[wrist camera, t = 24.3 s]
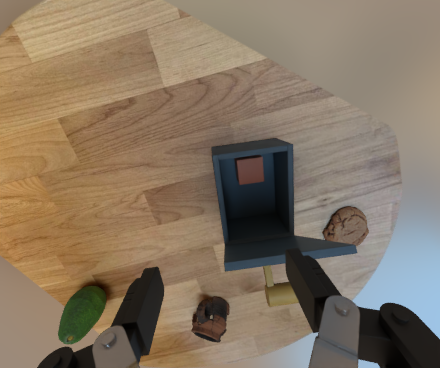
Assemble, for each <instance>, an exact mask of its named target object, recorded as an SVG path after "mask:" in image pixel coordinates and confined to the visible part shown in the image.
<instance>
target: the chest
mask: <svg viewBox="0 0 440 368" xmlns="http://www.w3.org/2000/svg"><path fill="white" fill-rule="evenodd" d="M253 155H261V156H262V157H263V170H264V182H257V183H250V184H243V185H239V183H238V180H237V178H236V170H235V161H234V158H239V157H246V156H253ZM212 160H213V167H214V174H215V181H216V188H217V195H218V201H219V208H220V215H221V222H222V229H223V236H224V243H225V245H229V244H236V243H244V242H251V241H258V240H265V239H273V238H280V237H287V236H294V181H293V144H290V143H288V142H285V141H282V140H279V139H277V138H273V139H266V140H258V141H251V142H244V143H237V144H229V145H222V146H215V147H212Z"/></svg>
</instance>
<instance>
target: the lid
mask: <svg viewBox="0 0 440 368" xmlns="http://www.w3.org/2000/svg"><path fill="white" fill-rule="evenodd" d="M292 248H299V250H300V251H301V253H302V254H303V256H306V255H309V256H311V257H312V258H314V259H319V258H326V257H334V256H341V255H348V254H355V253H357V250H356V246H355V245H353V244H347V243H340V242H334V241H327V240H321V239H314V238H308V237H301V236H295V235H294V236H287V237H280V238H273V239H265V240H258V241H251V242H244V243H236V244H229V245H225V254H224V266H225V271H232V270H239V269H247V268H254V267H261V266H263V269H264V275H265V281H266V285H265V294H266V299H267V303H268V305H269V307H273V306H280V305H287V304H294V303H299V301H298V299H297V297H296V295H295V293H294V291H293V289H292V286H291V284H290V282H284V283H277V284H274V283H273V277H272V271H271V265H276V264H283V263H286V261H285V250H286V249H292Z"/></svg>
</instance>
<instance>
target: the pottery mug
mask: <svg viewBox="0 0 440 368" xmlns="http://www.w3.org/2000/svg"><path fill="white" fill-rule="evenodd" d="M196 314H197V315H195V314H193V317H192V318H193V319H192V325H193V329H192V330H191V331H192V332H193V333H194V332H195V333H194V334H195V335H196V336H198V337H201V338H203V339H206V340H209V341H212V342H220V341H221V340H220V337H221V336H223V334H224V333H225V332H226V319H227V318H226V317H227V315H229V304H228V303H227V302H225V301H224V300H222V299H220V298H218V297H213V300H212V303H211V301H210V300H208V299H206V300H204V301H202V302H201V303H200V304H199V305H198V308H197V312H196ZM210 315H213V319H210ZM197 317H198V322H200V323H201V324H199V323H198V322H197Z"/></svg>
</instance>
